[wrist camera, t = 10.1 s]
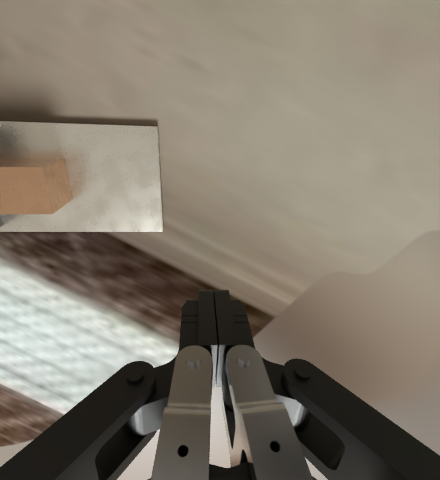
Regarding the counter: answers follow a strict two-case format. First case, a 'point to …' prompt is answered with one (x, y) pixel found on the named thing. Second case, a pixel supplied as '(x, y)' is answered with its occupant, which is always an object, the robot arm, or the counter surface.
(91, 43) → the counter surface
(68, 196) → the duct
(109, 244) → the counter surface
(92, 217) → the block stand
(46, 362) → the counter surface
